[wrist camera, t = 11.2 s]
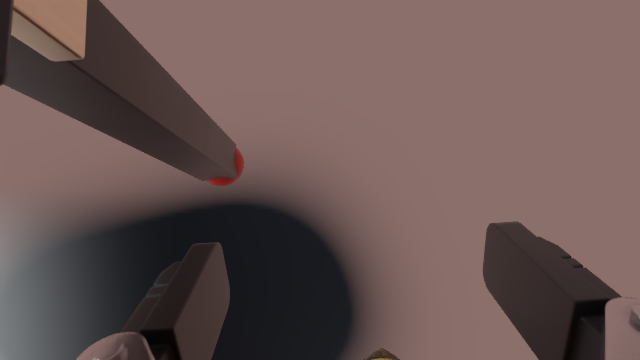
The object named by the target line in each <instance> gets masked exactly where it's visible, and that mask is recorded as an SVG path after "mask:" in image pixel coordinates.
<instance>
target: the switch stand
mask: <svg viewBox="0 0 640 360" xmlns="http://www.w3.org/2000/svg"><path fill="white" fill-rule="evenodd" d="M86 16H87V0H0V86H1V85H3V84H4V83H5V82H6V80H7V77H8V65H9V53H10V41H11V35H13V36H14V37H16V38H17V39H19V40H20V41H22V42H23V43H25V44H26V45H28V46H29V47H31V48H32V49H34V50H36V51H37V52H39V53H40V54H42V55H43V56H45V57H46V58H48V59H49V60H51V61H68V60H81V59H84V57H85V38H86Z"/></svg>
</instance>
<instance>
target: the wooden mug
mask: <svg viewBox="0 0 640 360" xmlns="http://www.w3.org/2000/svg"><path fill="white" fill-rule="evenodd" d="M364 360H400V359H398V358H397V357H396V356H394V355H393V354H391V353H390V352H388V351H386V350H385V349H382V348H381V349H379V350H378V351H376V352H374V353H372V354H371V355H370V356H368V357H367V358H366V359H364Z"/></svg>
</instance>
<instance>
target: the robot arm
mask: <svg viewBox="0 0 640 360" xmlns="http://www.w3.org/2000/svg"><path fill="white" fill-rule="evenodd" d="M483 276H484V281H485V284H486V287H487V288H488V290H489V292H490V293H491V294H492V296H493V297H494V299H495V300H496V301H497V303H498V304H499V305H500V307H501V308H502V310H503V311H504V312H505V314H506V315H507V316H508V318H509V319H510V320H511V322H512V323H513V325H514V326H515V327H516V329H517V330H518V332H519V333H520V334H521V336H522V337H523V338H524V339H525V341H526V342H527V344H528V345H529V347H530V348H531V349H532V351H533V352H534V354H535V355H536V356H537V358H538V359H539V360H640V299H637V298H628V297H622V296H620V295H619V294H618V293H616V292H615V291H614V290H613V289H612V288H610V287H609V286H608V285H607V284H605V283H604V282H603V281H602V280H600V279H599V278H598V277H597V276H595V275H594V274H593V273H592V272H590V271H589V270H588V269H587V268H583V265H582V264H580V263H579V262H578V261H577V260H575V259H573V258H571V256H570V255H569V254H568V253H566V252H565V251H564V250H563V249H562V248H560V247H559V246H558V245H556V244H554V243H551V242H549V241H547V240H545V239H543V238H541V237H536V236H535V235H534V234H533V233H531V232H530V231H529V230H528V229H527V228H525V227H524V226H523V225H522V224H521V223H519V222H503V223H491V224H489V226H488V228H487V232H486V242H485V253H484V263H483ZM229 300H230V290H229V282H228V277H227V272H226V267H225V261H224V256H223V251H222V247H221V245H220V243H218V242H217V243H203V244H194V245H192V246H191V248H190V249H189V251H188V253H187V254H186V256H185V257H184V259H183V260H182V262H175V263H174V264H172V265H171V266H170V267H168V268H167V269H166V270H164V271H163V272H162V273H161V274H160V275H159V277H158V278H157V280H156V281H155V283H154V284H153V287H151V288H150V290H149V291H148V293H147V294H146V298H143V300H142V301H141V303H140V304H139V306H138V307H137V309H136V310H135V312H134V313H133V314H132V316H131V317H130V319H129V320H128V322H127V323H126V325H125V326H124V327H123V329H122V330H121V332H120V333H117V334H114V335H111V336H108V337H106V338H104V339H102V340H99V341H98V342H96V343H94V344H93V345H91V346H90V347H89V348H87V349H86V350H85V351H84V352H83V353H81V355H80V356H79V357H78V358H77V359H76V360H211V358H212V355H213V352H214V348H215V346H216V343H217V339H218V336H219V334H220V330H221V327H222V325H223V322H224V319H225V315H226V313H227V310H228V306H229Z"/></svg>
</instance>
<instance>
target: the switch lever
mask: <svg viewBox="0 0 640 360" xmlns="http://www.w3.org/2000/svg"><path fill="white" fill-rule="evenodd" d="M4 85H6V86H8V87H10V88H12V89H14V90H16V91H18V92H21V93H23V94H25V95H27V96H29V97H31V98H33V99H35V100H37V101H39V102H41V103H43V104H45V105H47V106H49V107H51V108H53V109H55V110H58V111H60V112H62V113H64V114H66V115H68V116H70V117H72V118H74V119H76V120H78V121H81V122H82V123H84V124H87V125H88V126H91V127H93V128H95V129H97V130H99V131H101V132H103V133H105V134H107V135H109V136H111V137H113V138H115V139H117V140H119V141H121V142H123V143H126V144H128V145H130V146H132V147H134V148H136V149H138V150H140V151H142V152H144V153H146V154H148V155H150V156H152V157H154V158H156V159H159V160H161V161H163V162H165V163H167V164H169V165H171V166H173V167H175V168H177V169H179V170H182V171H183V172H185V173H187V174H190V175H192V176H194V177H196V178H198V179H200V180H202V181H208V182H209V183H211V184H213V185H217V186H226V185H229V184H232V183H234V182H235V181H236V180H237V179H238V178H239V177H240V176H241V174H242V172H243V168H244V161H243V157H242V155H241V153H240V151H239V150H238V149H237V148H236V144H235V143H234V142H233V141H232V140H231V139H230V138H229V137H228V136H227V134H226V133H225V132H224V131H223V130H222V129H221V128H220V127H219V126H218V125H217V124H216V123H215V122H214V121H213V120H212V119H211V118H210V117H209V116H208V115H207V114H206V112H205V111H204V110H203V109H202V108H201V107H200V106H199V105H198V104H197V103H196V102H195V101H194V100H193V99H192V98H191V97H190V95H189V94H188V93H187V92H186V91H185V90H184V89H183V88H182V87H181V86H180V85H179V84H178V83H177V82H176V81H175V80H174V79H173V78H172V77H171V75H170V74H169V73H168V72H167V71H166V70H165V69H164V68H163V67H162V66H161V65H160V64H159V63H158V62H157V61H156V60H155V59H154V58H153V56H151V54H150V53H148V51H147V50H146V49H145V48H144V47H143V46H142V45H141V44H140V43H139V42H138V41H137V40H136V39H135V38H134V37H133V35H132V34H131V33H130V32H129V31H128V30H127V29H126V28H125V27H124V26H123V25H122V24H121V23H120V22H119V21H118V20H117V19H116V18H115V17H114V15H113V14H112V13H111V12H110V11H109V10H108V9H107V8H106V7H105V6H104V5H103V4H102V3H101V2H100V1H99V0H87V16H86V38H85V57H84V59H81V60H68V61H51V60H49V59H48V58H46V57H45V56H43V55H42V54H40V53H39V52H37V51H36V50H34V49H32V48H31V47H29V46H28V45H26V44H25V43H23V42H22V41H20V40H19V39H17V38H16V37H14V36H13V35H11V41H10V53H9V65H8V77H7V80H6V82H5V83H4Z"/></svg>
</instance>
